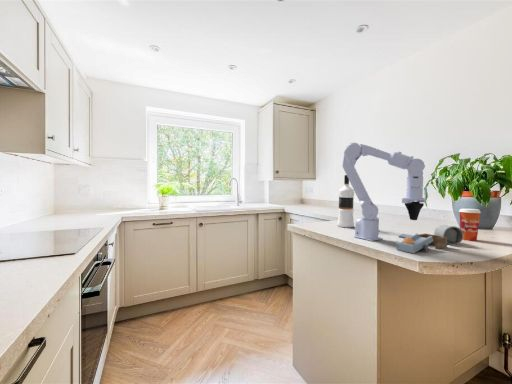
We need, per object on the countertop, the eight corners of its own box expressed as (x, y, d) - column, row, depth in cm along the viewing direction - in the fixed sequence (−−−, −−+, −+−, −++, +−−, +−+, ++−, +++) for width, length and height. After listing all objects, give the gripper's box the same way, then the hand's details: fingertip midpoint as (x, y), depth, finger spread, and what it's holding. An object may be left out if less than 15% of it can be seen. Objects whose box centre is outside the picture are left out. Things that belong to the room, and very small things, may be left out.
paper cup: (460, 240, 110) (461, 209, 110) (455, 237, 117) (456, 207, 116) (482, 242, 106) (484, 210, 106) (477, 239, 113) (478, 208, 113)
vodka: (351, 228, 136) (353, 174, 135) (335, 226, 141) (336, 174, 140) (355, 226, 143) (357, 175, 142) (339, 224, 149) (340, 175, 148)
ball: (401, 247, 92) (400, 237, 91) (406, 244, 93) (405, 235, 93) (411, 249, 89) (410, 239, 88) (416, 246, 90) (415, 237, 90)
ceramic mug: (450, 240, 109) (450, 223, 109) (463, 245, 101) (464, 226, 100) (424, 240, 110) (424, 223, 110) (436, 244, 102) (436, 226, 102)
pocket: (415, 244, 101) (416, 235, 101) (424, 242, 104) (425, 233, 104) (438, 249, 94) (438, 238, 94) (446, 247, 97) (447, 237, 97)
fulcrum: (402, 247, 96) (402, 240, 96) (404, 246, 97) (405, 240, 97) (425, 252, 89) (426, 245, 89) (428, 251, 90) (428, 244, 90)
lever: (383, 246, 97) (382, 239, 97) (402, 235, 104) (402, 229, 103) (414, 254, 87) (413, 246, 87) (433, 241, 94) (433, 234, 93)
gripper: (415, 187, 95) (414, 222, 96) (434, 187, 103) (432, 220, 103) (397, 187, 101) (396, 220, 102) (416, 187, 109) (415, 218, 109)
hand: (413, 219), depth 103 cm, fingers closed
